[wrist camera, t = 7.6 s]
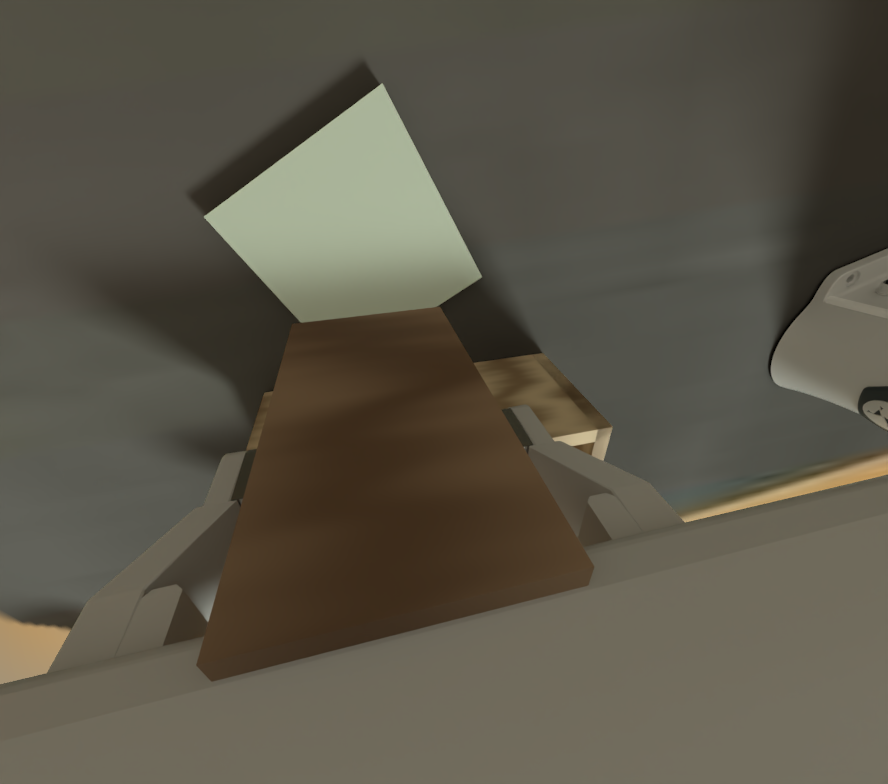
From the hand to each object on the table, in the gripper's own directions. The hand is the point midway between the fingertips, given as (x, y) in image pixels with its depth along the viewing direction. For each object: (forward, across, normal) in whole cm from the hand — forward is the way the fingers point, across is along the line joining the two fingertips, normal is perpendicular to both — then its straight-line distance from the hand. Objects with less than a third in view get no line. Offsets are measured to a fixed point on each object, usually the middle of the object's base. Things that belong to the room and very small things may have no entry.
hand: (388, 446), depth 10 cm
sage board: (+23, 0, 0) cm, 23 cm away
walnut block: (+4, 0, 0) cm, 4 cm away
